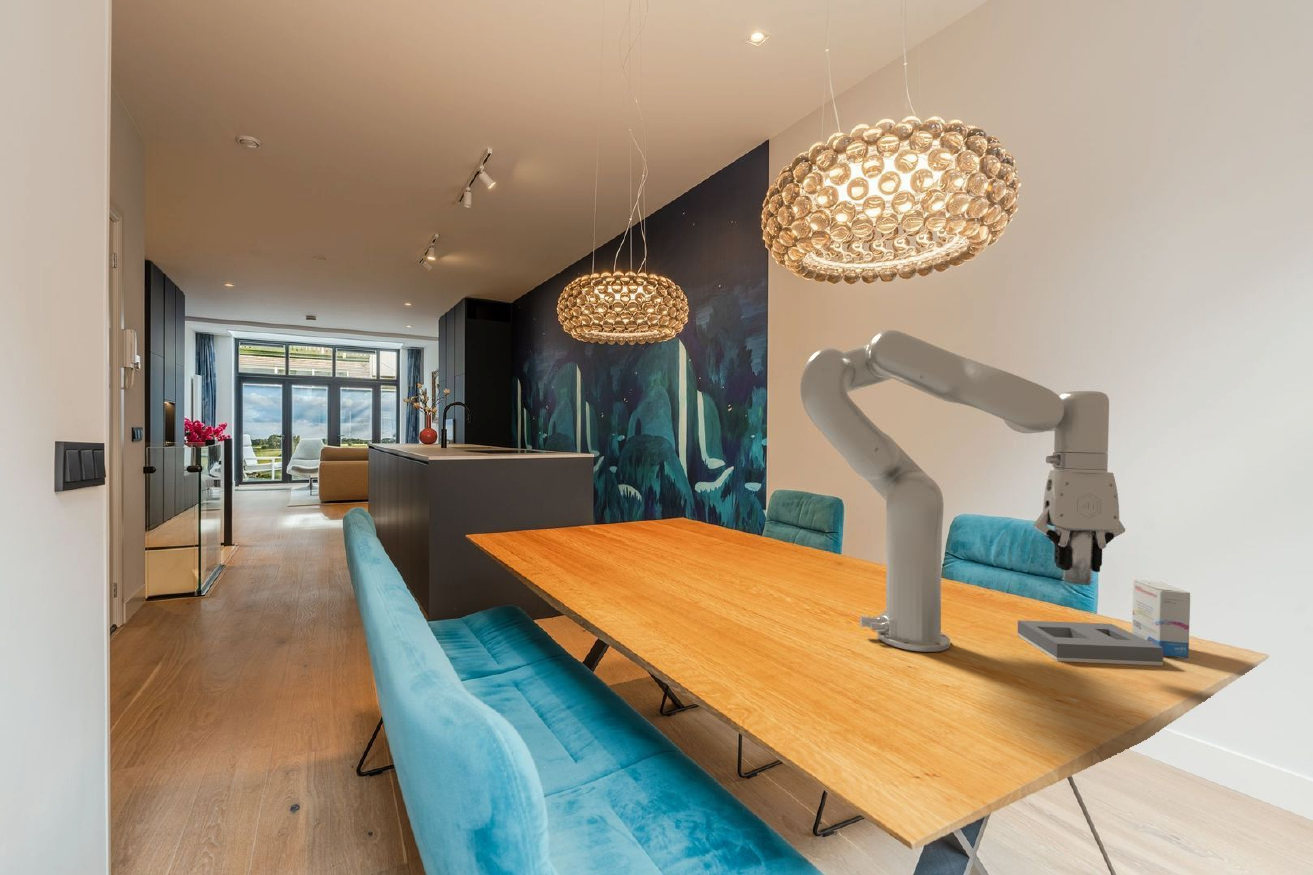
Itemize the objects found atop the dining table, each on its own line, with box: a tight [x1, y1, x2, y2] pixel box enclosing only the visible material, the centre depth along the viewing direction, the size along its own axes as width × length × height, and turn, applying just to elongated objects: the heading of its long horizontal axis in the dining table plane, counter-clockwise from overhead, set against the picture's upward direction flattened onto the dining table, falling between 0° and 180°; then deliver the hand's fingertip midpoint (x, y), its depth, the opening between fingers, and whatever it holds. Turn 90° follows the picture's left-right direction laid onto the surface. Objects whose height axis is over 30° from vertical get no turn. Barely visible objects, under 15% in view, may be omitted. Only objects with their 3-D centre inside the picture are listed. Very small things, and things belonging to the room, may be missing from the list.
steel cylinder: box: [1062, 530, 1093, 586], centre depth 101 cm, size 4×4×13 cm
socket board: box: [1017, 620, 1164, 666], centre depth 107 cm, size 17×13×3 cm
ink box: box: [1131, 579, 1191, 659], centre depth 108 cm, size 9×5×12 cm, turn 168°
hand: (1077, 568), depth 101 cm, fingers closed on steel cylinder, 4 cm apart
